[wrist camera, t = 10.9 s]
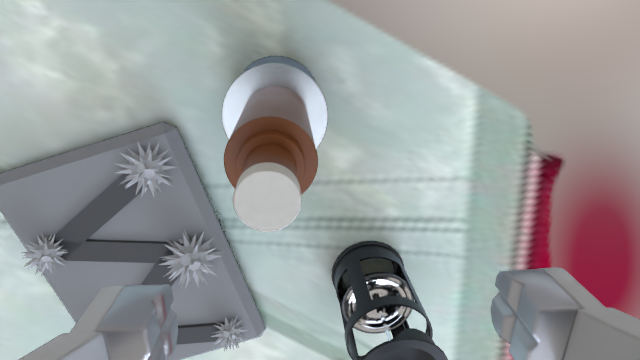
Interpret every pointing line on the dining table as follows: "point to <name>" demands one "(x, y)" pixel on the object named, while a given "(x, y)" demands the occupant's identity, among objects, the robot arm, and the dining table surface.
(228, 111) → the tin can
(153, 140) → the decorative plate
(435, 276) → the dining table surface
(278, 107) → the bottle
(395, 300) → the french press
